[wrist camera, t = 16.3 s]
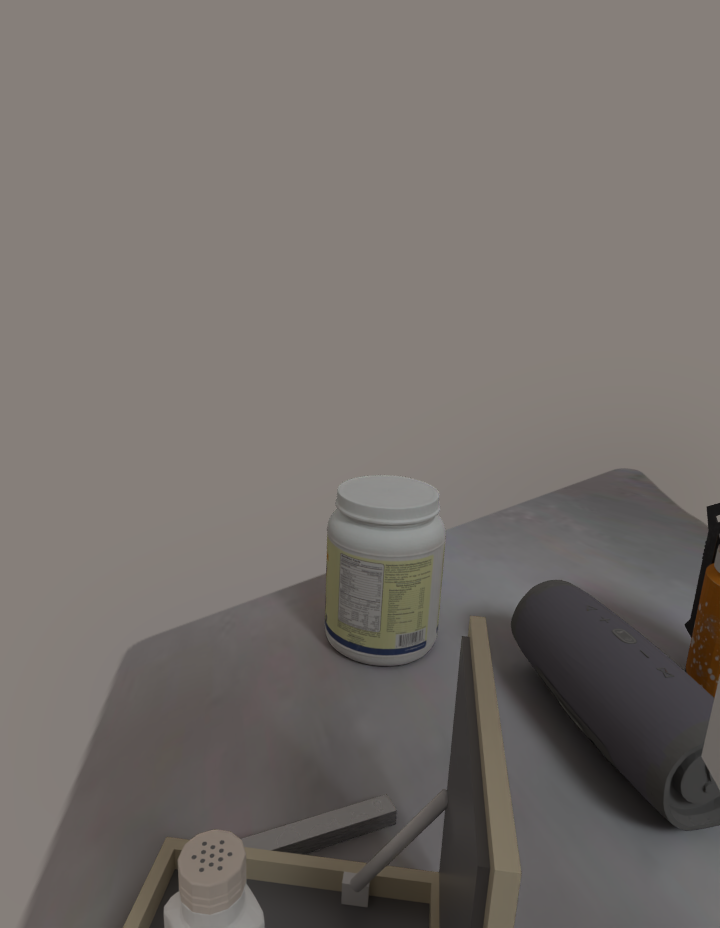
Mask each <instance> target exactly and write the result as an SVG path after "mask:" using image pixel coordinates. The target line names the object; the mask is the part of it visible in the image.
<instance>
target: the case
mask: <svg viewBox="0 0 720 928" xmlns="http://www.w3.org/2000/svg"><path fill="white" fill-rule="evenodd" d="M444 810H445V817H444V828H443V838H442V848H441V859H440V869H439V872H432V871H424V870H417V869H409V868H401V867H394V866H387V865H388V864H389V863H390V862H391V861H392V860H393V859H394V858H395V857H396V856H397V855H398V854H399V853H400V852H401V851H402V850H403V849H404V848H406V847H407V846H408V845H409V844H410V843H411V842H412V841H413V840H414V839H415V838H416V837H417V836H418V835H419V834H420V833H421V832H422V831H423V830H424V829H425V828H426V827H427V826H428V825H429V824H430V823H432V822H433V821H434V820H435V819H436V818H437V817H438V816H439V815H440V814H441V813H442V812H443V811H444ZM189 841H190V840H187V839H179V838H172V837H166V839H165V841H164V843H163V845H162V847H161V850H160V852H159V854H158V856H157V858H156V860H155V862H154V864H153V866H152V868H151V870H150V872H149V874H148V877H147V879H146V881H145V883H144V885H143V887H142V889H141V891H140V893H139V895H138V897H137V899H136V902H135V904H134V906H133V908H132V910H131V912H130V914H129V916H128V918H127V920H126V922H125V924H124V926H123V928H164V906H165V905H166V903H167V902H168V901H169V899H170V898H171V897H172V896H173V895H174V894H176V893H177V892H178V891H179V881H178V880H179V879H178V858H179V856H180V853H181V851H182V849H183V847H184V845H185V844H186V843H187V842H189ZM244 848H245V852H246V880H247V881H246V884H247V885H248V887H249V888H250V890H251V891H252V893H253V895H254V896H255V898H256V900H257V901H258V903H259V905H260V907H261V909H262V911H263V913H264V923H265V928H514V923H515V916H516V909H517V901H518V894H519V887H520V880H521V867H520V860H519V852H518V845H517V838H516V831H515V824H514V817H513V810H512V803H511V796H510V789H509V782H508V774H507V767H506V760H505V753H504V746H503V739H502V732H501V725H500V718H499V711H498V704H497V696H496V689H495V682H494V675H493V668H492V661H491V654H490V647H489V640H488V633H487V626H486V618H485V617H478V616H470V622H469V633H468V637H465V636H462V640H461V651H460V661H459V671H458V682H457V692H456V703H455V713H454V724H453V734H452V744H451V755H450V765H449V776H448V786H447V790H445V789H443V790H442V791H441V792H440V793H439V794H438V795H437V796H436V797H435V798H434V799H433V800H432V801H431V802H430V803H429V804H428V805H427V806H426V807H425V808H424V809H423V810H422V811H420V812H419V813H418V814H417V815H416V816H415V817H414V818H413V819H412V820H411V821H410V822H409V823H408V824H407V825H406V826H405V827H404V828H403V829H402V830H401V831H400V832H399V833H398V834H397V835H396V836H395V837H394V838H393V839H392V840H391V841H390V842H389V843H388V844H387V845H386V846H385V847H384V848H383V849H382V850H381V851H380V852H379V853H377V854H376V855H375V856H374V857H373V858H372V859H371V860H370V861H369V862H368V863H363V862H355V861H348V860H340V859H332V858H325V857H317V856H310V855H302V854H294V853H287V852H279V851H271V850H264V849H256V848H248V847H244Z"/></svg>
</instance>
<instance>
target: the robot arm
mask: <svg viewBox="0 0 720 928" xmlns="http://www.w3.org/2000/svg"><path fill="white" fill-rule="evenodd" d="M701 757H702V759H703V761H704V762H705V764H706V766H707V768H708V770H709V772H710V773H711V775H712V777H713V779H714V781H715V782H716V784H717V786H718V788H719V790H720V676H719V680H718V685H717V689H716V694H715V698H714V703H713V707H712V711H711V716H710V720H709V725H708V729H707V733H706V738H705V742H704V747H703V751H702V755H701Z"/></svg>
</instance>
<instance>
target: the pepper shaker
mask: <svg viewBox="0 0 720 928" xmlns="http://www.w3.org/2000/svg"><path fill="white" fill-rule="evenodd" d="M178 879H179V880H178V881H179V891H178V892H177V893H176V894H174V895H173V896H172V897H171V898H170V899H169V901H168V902H167V903H166V905H165V906H164V928H265V923H264V913H263V911H262V909H261V907H260V905H259V903H258V901H257V900H256V898H255V896H254V895H253V893H252V891H251V890H250V888H249V887H248V885H247V884H246V881H247V880H246V852H245V848H244V845H243V842H242V840H241V839H240V838H238V837H237V836H236V835H234V834H233V833H232V832H231V831H224V830H217V829H214V830H210V831H207V832H203V833H200V834H197V835H196V836H195V837H194V838H192V839H191V840H190V841H189V842H187V843H186V844H185V845H184V847H183V849H182V851H181V853H180V856H179V858H178Z"/></svg>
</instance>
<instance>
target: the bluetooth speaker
mask: <svg viewBox="0 0 720 928" xmlns="http://www.w3.org/2000/svg"><path fill="white" fill-rule="evenodd" d="M511 628H512V633H513V636H514V638H515V640H516V642H517V644H518V645H519V647H520V649H521V650H522V652H523V653H524V655H525V656H526V658H527V659H528V660H529V662H530V663H531V664H532V666H533V667H534V668H535V670H536V671H537V672H538V674H539V676H540V677H541V678H542V680H543V681H544V682H545V684H546V685H547V686H548V687H549V689H550V690H551V691H552V693H553V694H554V695H555V696H556V698H557V700H558V701H559V703H560V705H561V706H562V707H563V708H564V710H565V711H566V712H567V714H568V715H569V716H570V717H571V719H572V720H573V721H574V722H575V724H576V725H577V726H578V727H579V728H580V729H581V731H582V732H583V733H584V734H585V735H586V736H587V737H588V738H589V739H590V740H591V741H592V742H593V743H594V744H595V745H596V747H597V748H598V749H599V750H600V751H601V753H602V754H603V755H604V756H605V757H606V758H607V759H608V760H609V761H610V762H611V763H612V765H613V766H614V767H615V768H616V769H617V770H618V771H620V772H621V773H622V774H623V775H624V776H625V777H626V778H627V779H628V780H629V782H630V783H631V784H632V785H633V786H634V787H635V788H636V789H637V790H638V791H639V793H640V794H641V795H642V796H643V797H644V798H645V799H646V800H647V801H648V802H649V803H650V804H651V805H652V806H653V807H654V808H655V809H656V810H657V811H659V812H660V813H661V814H662V815H663V816H664V817H665V818H666V819H667V820H668V821H669V822H671V823H672V824H673V825H674V826H675V827H677V828H679V829H682V830H685V831H690V830H698V829H704V828H709V827H713V826H717V825H720V790H719V788H718V786H717V784H716V782H715V781H714V779H713V777H712V775H711V773H710V772H709V770H708V768H707V766H706V764H705V762H704V761H703V759H702V757H701V755H702V751H703V747H704V742H705V738H706V733H707V729H708V725H709V720H710V716H711V711H712V707H713V703H714V697H713V696H711V695H710V694H709V693H708V692H707V691H706V690H705V689H704V688H703V687H702V686H701V685H699V684H698V683H697V682H696V681H695V680H694V679H693V678H692V677H691V676H689V675H688V674H687V673H686V672H685V671H684V670H683V669H681V668H680V667H679V666H678V665H677V664H676V663H675V662H673V661H672V660H671V659H670V658H669V657H668V656H666V655H665V654H664V653H663V652H662V651H661V650H659V649H658V648H657V647H656V646H655V645H653V644H652V643H651V642H650V641H649V640H647V639H646V638H645V637H644V636H643V635H641V634H640V633H639V632H638V631H636V630H635V629H634V628H632V627H631V626H630V625H629V624H627V623H626V622H625V621H624V620H622V619H621V618H620V617H618V616H617V615H616V614H615V613H613V612H612V611H611V610H609V609H608V608H607V607H605V606H604V605H603V604H601V603H600V602H599V601H597V600H596V599H595V598H593V597H592V596H590V595H589V594H588V593H586V592H584V591H583V590H581V589H580V588H578V587H576V586H574V585H573V584H571V583H569V582H566V581H562V580H550V581H546V582H543V583H540V584H538V585H536V586H534V587H533V588H532V589H530V590H529V591H528V592H527V594H526V595H525V596H524V597H523V598H522V599H521V601H520V602H519V604H518V605H517V607H516V609H515V612H514V614H513V617H512V621H511Z"/></svg>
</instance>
